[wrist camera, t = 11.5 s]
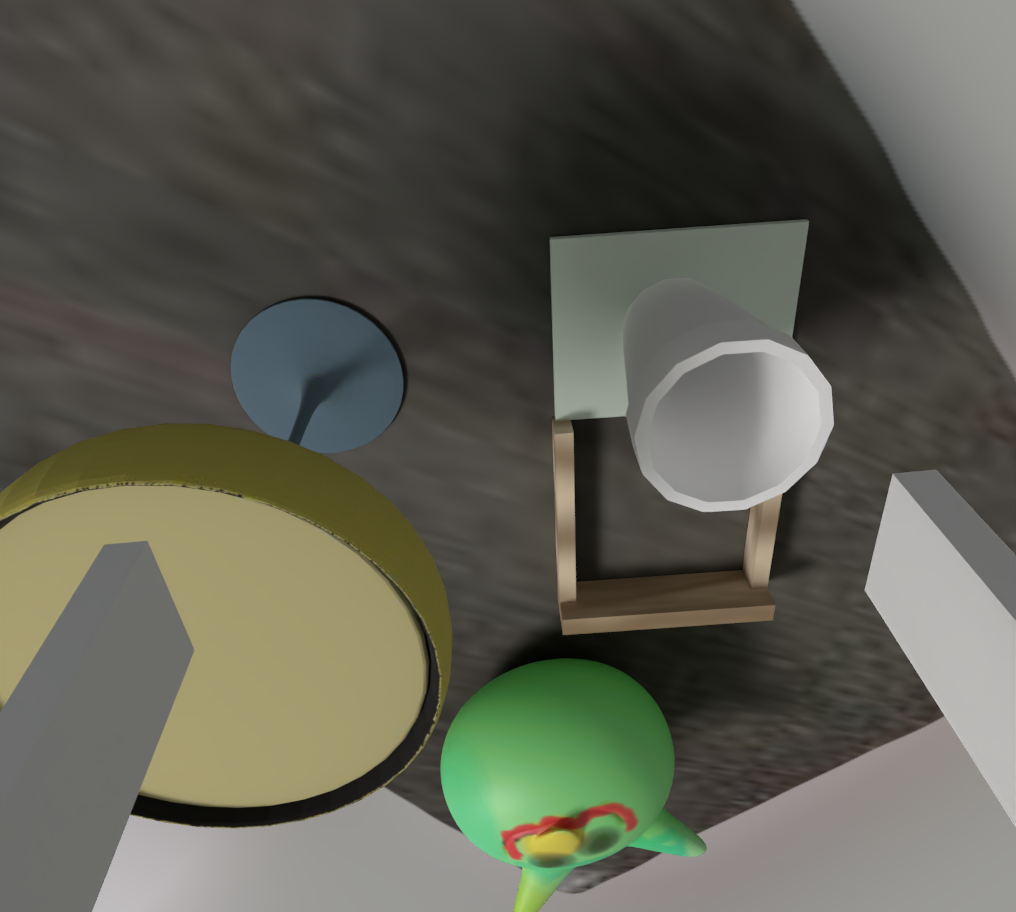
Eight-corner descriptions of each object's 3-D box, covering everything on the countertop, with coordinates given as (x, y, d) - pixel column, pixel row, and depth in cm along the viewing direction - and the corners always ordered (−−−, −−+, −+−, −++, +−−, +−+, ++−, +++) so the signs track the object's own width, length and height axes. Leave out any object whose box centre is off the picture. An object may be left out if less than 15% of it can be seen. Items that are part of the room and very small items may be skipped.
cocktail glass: (463, 243, 45) (455, 480, 23) (457, 498, 54) (447, 832, 33) (145, 230, 43) (-169, 465, 22) (196, 492, 53) (9, 834, 32)
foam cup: (571, 364, 48) (601, 477, 37) (640, 228, 44) (696, 309, 33) (701, 413, 50) (765, 533, 39) (778, 287, 46) (875, 382, 35)
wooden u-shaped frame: (551, 417, 51) (557, 448, 47) (782, 401, 51) (804, 431, 47) (557, 597, 59) (562, 635, 56) (755, 583, 59) (772, 620, 56)
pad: (549, 237, 44) (550, 239, 44) (806, 219, 45) (809, 221, 44) (554, 417, 51) (555, 421, 50) (779, 401, 51) (782, 404, 50)
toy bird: (616, 592, 59) (654, 754, 47) (681, 721, 68) (729, 889, 55) (410, 666, 63) (395, 836, 50) (497, 780, 71) (502, 951, 58)
